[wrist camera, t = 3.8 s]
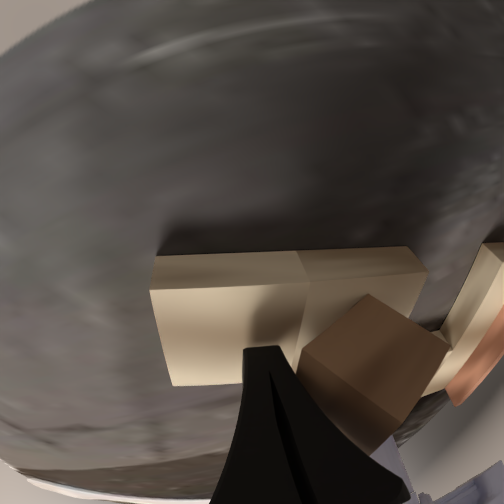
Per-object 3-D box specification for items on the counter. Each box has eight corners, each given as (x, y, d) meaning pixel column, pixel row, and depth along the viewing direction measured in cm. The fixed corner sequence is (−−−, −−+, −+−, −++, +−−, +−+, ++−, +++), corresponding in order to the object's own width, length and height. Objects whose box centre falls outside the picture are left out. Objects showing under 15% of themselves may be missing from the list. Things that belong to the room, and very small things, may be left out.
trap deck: (441, 369, 22) (461, 404, 18) (188, 413, 19) (191, 466, 15) (514, 241, 15) (552, 278, 11) (155, 256, 12) (142, 334, 8)
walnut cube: (345, 356, 14) (409, 401, 11) (286, 406, 12) (358, 465, 9) (368, 293, 12) (451, 345, 9) (301, 348, 9) (402, 423, 7)
